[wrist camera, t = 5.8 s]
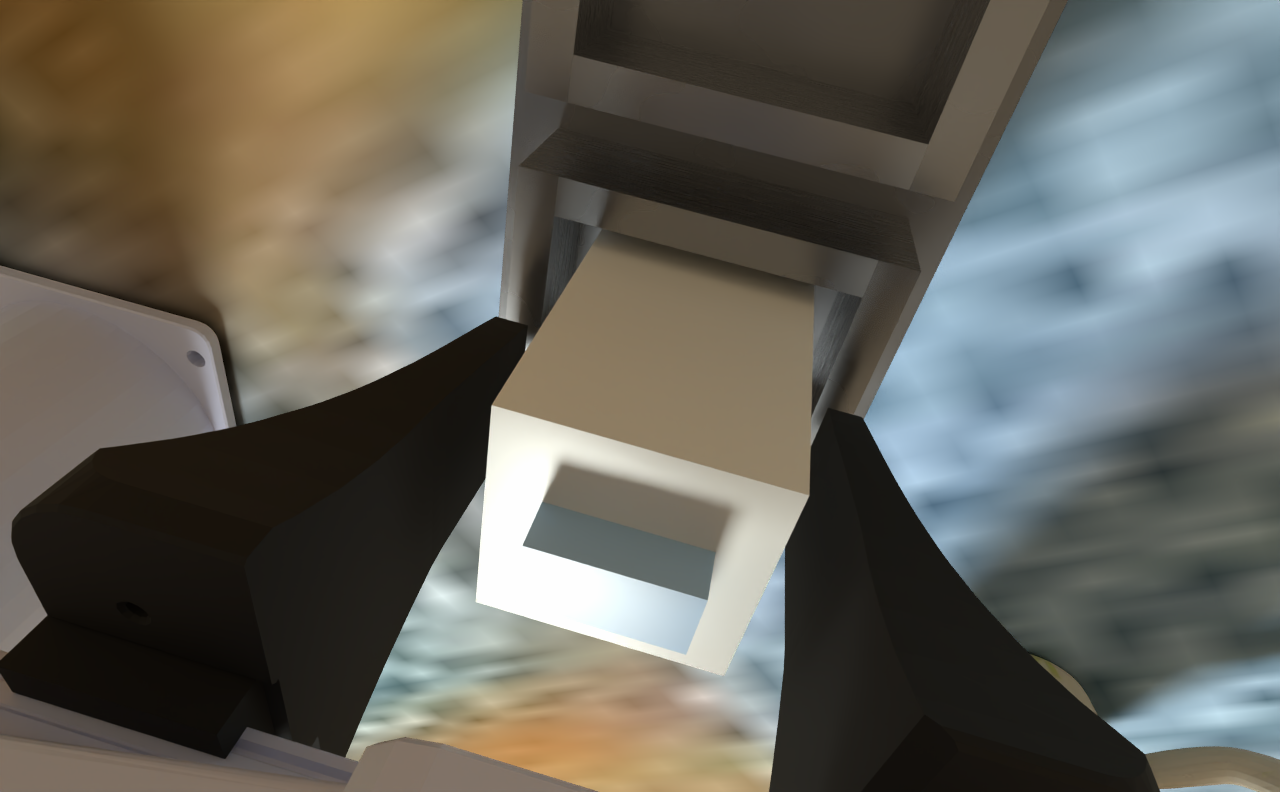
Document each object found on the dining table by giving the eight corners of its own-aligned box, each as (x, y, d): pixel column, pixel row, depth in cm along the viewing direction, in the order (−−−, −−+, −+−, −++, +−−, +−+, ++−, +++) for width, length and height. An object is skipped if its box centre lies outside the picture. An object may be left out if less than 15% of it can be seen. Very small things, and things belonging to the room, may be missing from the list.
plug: (757, 408, 17) (717, 725, 10) (591, 361, 17) (455, 645, 11) (815, 253, 14) (808, 544, 8) (620, 200, 14) (465, 446, 8)
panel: (827, 478, 18) (827, 563, 16) (499, 387, 18) (455, 457, 16) (1248, -398, 9) (1391, -490, 7) (576, -537, 9) (498, -667, 7)
